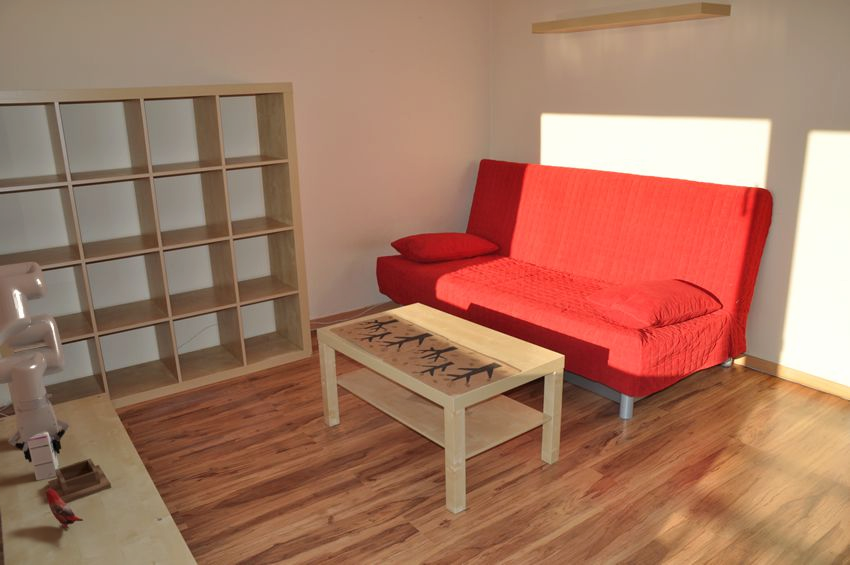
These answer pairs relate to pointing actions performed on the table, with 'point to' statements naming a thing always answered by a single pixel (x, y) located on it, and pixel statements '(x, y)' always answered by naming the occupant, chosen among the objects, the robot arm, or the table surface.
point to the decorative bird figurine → (60, 509)
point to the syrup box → (43, 456)
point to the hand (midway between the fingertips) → (43, 455)
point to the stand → (79, 481)
